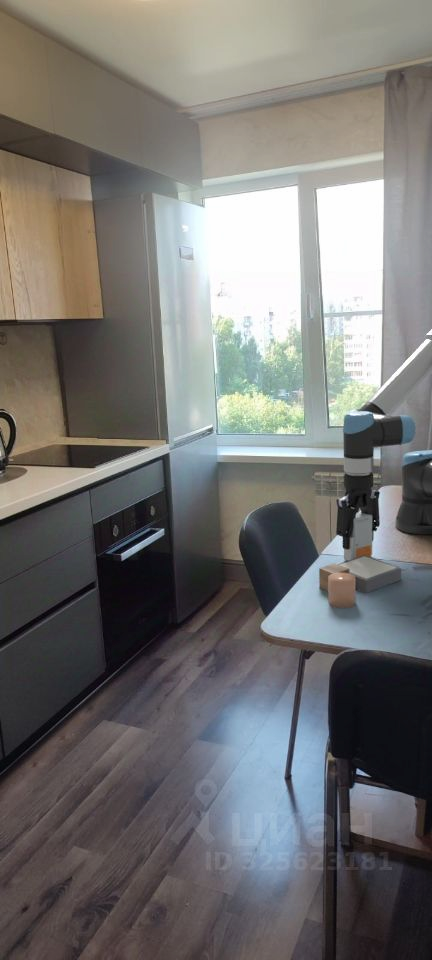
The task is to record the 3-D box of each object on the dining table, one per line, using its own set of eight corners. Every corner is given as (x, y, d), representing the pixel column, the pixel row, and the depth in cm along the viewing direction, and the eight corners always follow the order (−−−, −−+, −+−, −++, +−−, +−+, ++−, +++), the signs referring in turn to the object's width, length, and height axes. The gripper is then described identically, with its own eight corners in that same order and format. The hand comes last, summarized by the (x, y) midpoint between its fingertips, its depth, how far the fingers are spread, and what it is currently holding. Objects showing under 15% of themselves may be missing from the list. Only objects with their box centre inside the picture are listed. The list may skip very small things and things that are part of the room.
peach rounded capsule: (341, 594, 156) (341, 570, 155) (361, 602, 152) (361, 578, 150) (322, 601, 153) (322, 577, 152) (341, 610, 148) (341, 584, 147)
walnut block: (334, 582, 164) (334, 563, 163) (349, 588, 160) (349, 568, 159) (319, 587, 161) (319, 568, 160) (334, 594, 157) (334, 574, 156)
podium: (364, 566, 173) (364, 554, 172) (401, 579, 163) (401, 567, 162) (330, 578, 166) (330, 566, 166) (366, 592, 157) (366, 580, 156)
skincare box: (354, 563, 175) (354, 519, 173) (344, 558, 179) (343, 515, 176) (372, 558, 178) (372, 515, 175) (362, 553, 182) (362, 511, 179)
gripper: (373, 464, 181) (372, 545, 187) (320, 476, 171) (321, 561, 176) (395, 468, 175) (393, 552, 181) (341, 481, 165) (342, 569, 170)
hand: (358, 556), depth 178 cm, fingers closed on skincare box, 6 cm apart
